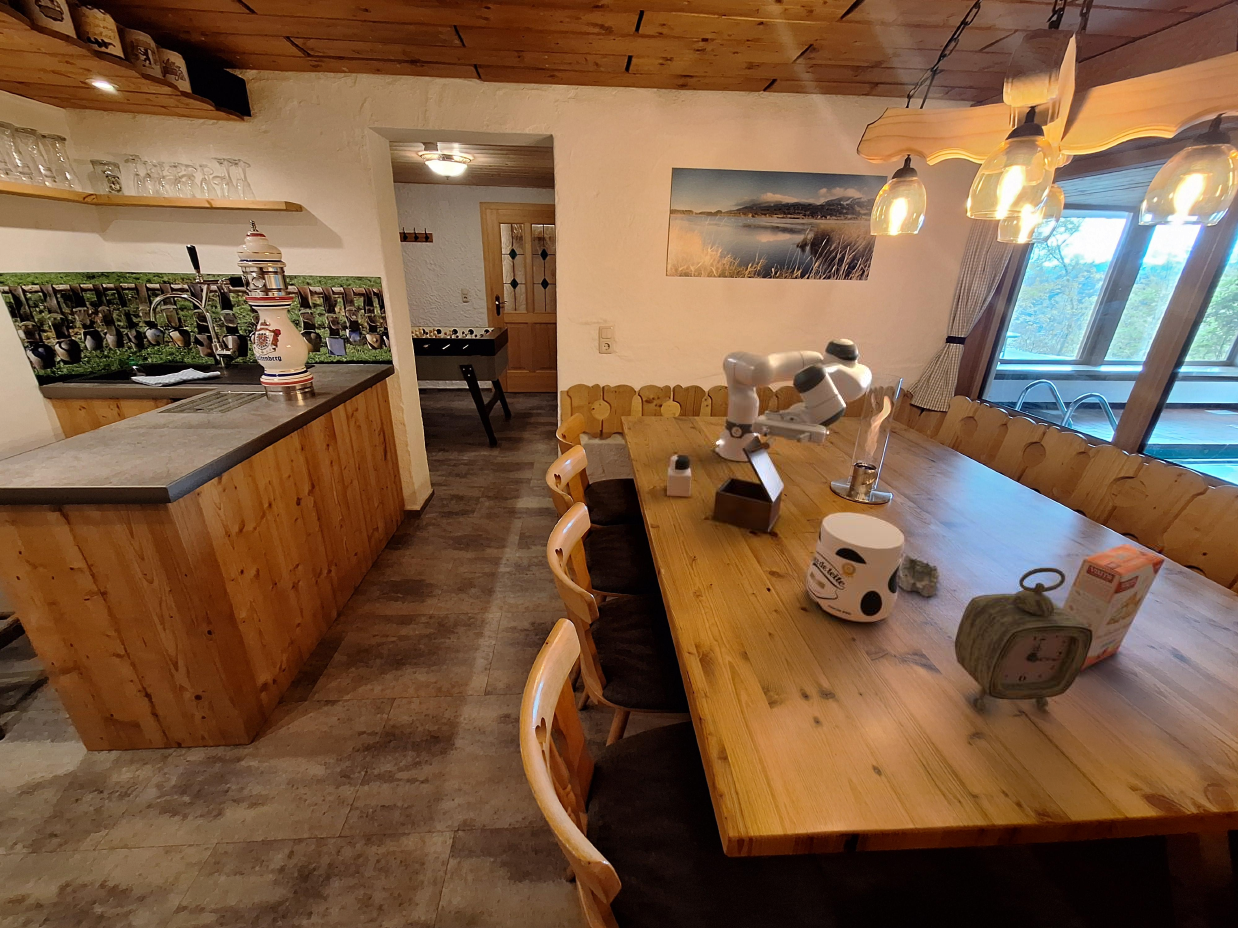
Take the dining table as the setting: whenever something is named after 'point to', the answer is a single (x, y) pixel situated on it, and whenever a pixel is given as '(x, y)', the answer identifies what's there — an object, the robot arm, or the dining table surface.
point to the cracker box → (1111, 595)
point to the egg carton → (918, 576)
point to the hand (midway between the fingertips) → (781, 436)
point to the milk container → (856, 567)
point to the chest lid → (764, 466)
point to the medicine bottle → (679, 476)
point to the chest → (745, 505)
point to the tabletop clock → (1021, 644)
